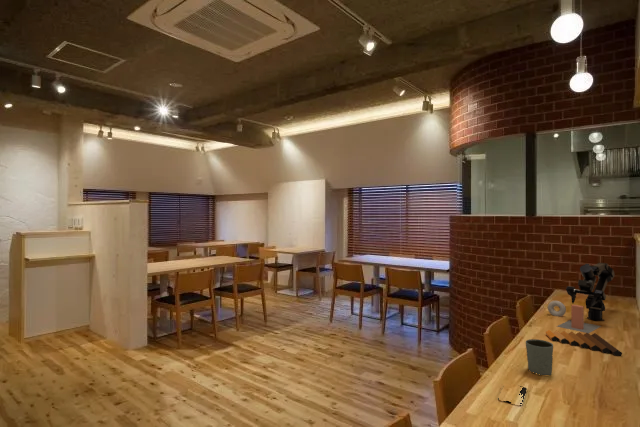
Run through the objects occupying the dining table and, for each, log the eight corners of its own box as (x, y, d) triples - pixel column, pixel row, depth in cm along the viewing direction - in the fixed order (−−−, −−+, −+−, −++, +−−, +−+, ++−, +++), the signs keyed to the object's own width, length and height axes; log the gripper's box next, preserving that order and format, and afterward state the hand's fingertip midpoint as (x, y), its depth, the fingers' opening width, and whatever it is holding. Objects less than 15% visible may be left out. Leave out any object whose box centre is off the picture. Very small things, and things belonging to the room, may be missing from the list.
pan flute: (622, 357, 178) (598, 339, 202) (622, 350, 178) (598, 333, 202) (561, 352, 184) (545, 336, 208) (561, 345, 184) (545, 329, 208)
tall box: (573, 326, 221) (573, 304, 221) (583, 328, 217) (583, 306, 217) (571, 327, 219) (571, 305, 219) (581, 329, 215) (581, 307, 215)
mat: (569, 320, 234) (569, 319, 234) (601, 327, 221) (601, 326, 221) (556, 327, 221) (556, 326, 221) (588, 334, 209) (588, 333, 209)
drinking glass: (553, 378, 155) (553, 348, 155) (524, 373, 161) (524, 344, 160) (553, 369, 164) (553, 341, 164) (526, 364, 169) (526, 337, 169)
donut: (566, 317, 241) (566, 301, 241) (565, 318, 238) (565, 302, 238) (548, 314, 248) (548, 299, 248) (547, 315, 246) (546, 299, 245)
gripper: (567, 272, 232) (559, 293, 226) (604, 276, 218) (597, 299, 211) (572, 284, 237) (565, 304, 231) (608, 288, 222) (602, 311, 216)
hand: (581, 304), depth 222 cm, fingers open, 9 cm apart
